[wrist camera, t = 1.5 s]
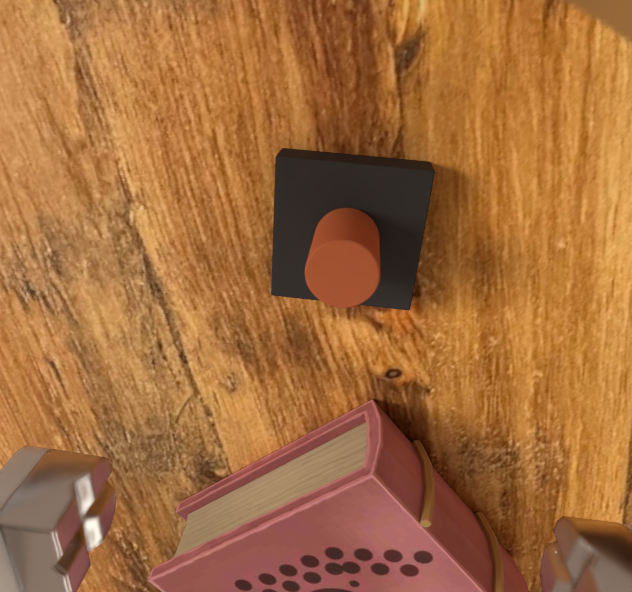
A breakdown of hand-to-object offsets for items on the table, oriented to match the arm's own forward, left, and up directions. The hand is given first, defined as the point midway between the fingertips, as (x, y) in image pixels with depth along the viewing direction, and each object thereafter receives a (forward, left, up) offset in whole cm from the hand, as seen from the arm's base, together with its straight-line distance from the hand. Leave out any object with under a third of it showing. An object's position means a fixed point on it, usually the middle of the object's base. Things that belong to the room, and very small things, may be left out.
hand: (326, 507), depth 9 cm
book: (+2, -19, -15) cm, 24 cm away
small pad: (0, 0, -14) cm, 14 cm away
